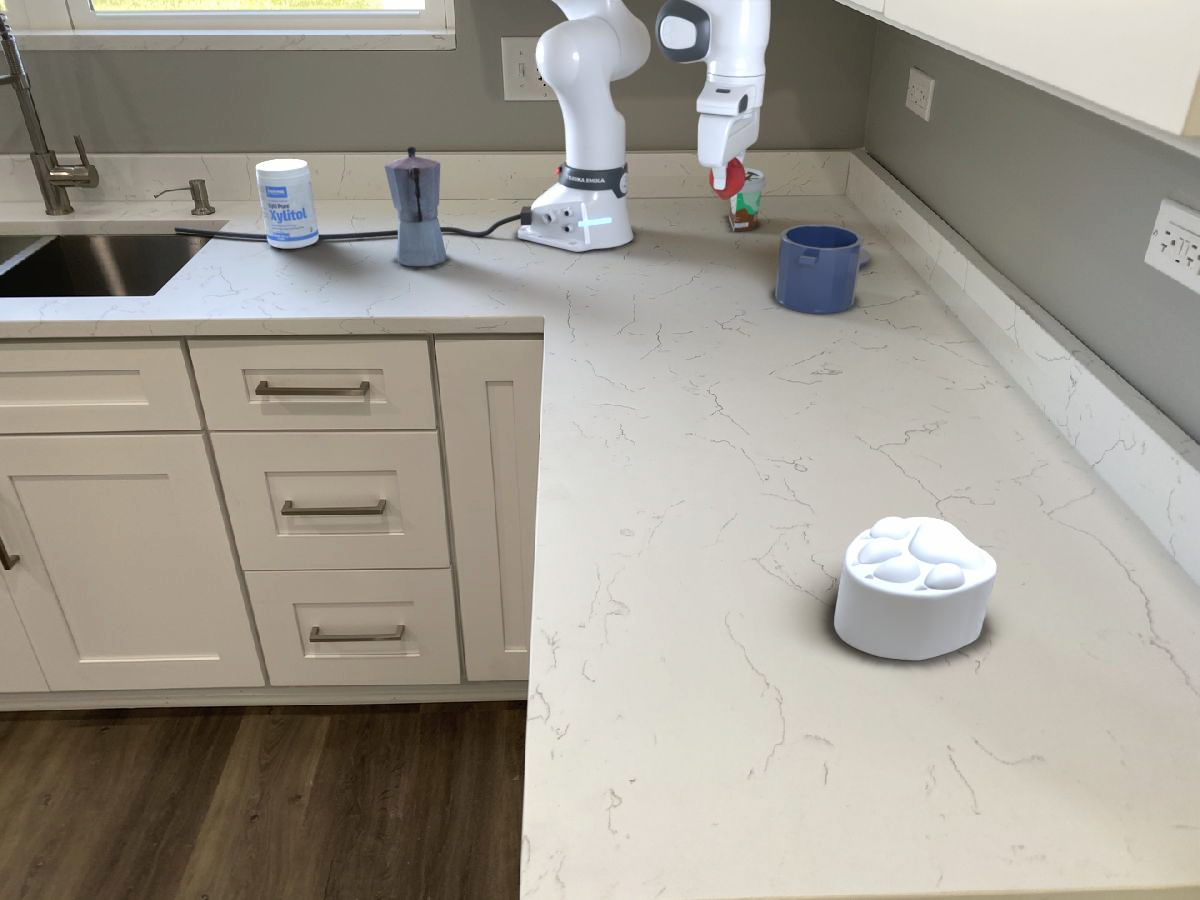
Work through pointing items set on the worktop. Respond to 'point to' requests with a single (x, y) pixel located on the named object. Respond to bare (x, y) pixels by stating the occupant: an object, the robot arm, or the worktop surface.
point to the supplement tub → (287, 203)
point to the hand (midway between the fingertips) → (727, 182)
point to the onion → (730, 179)
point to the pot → (818, 268)
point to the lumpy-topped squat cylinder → (913, 589)
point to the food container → (747, 201)
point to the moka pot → (416, 209)
